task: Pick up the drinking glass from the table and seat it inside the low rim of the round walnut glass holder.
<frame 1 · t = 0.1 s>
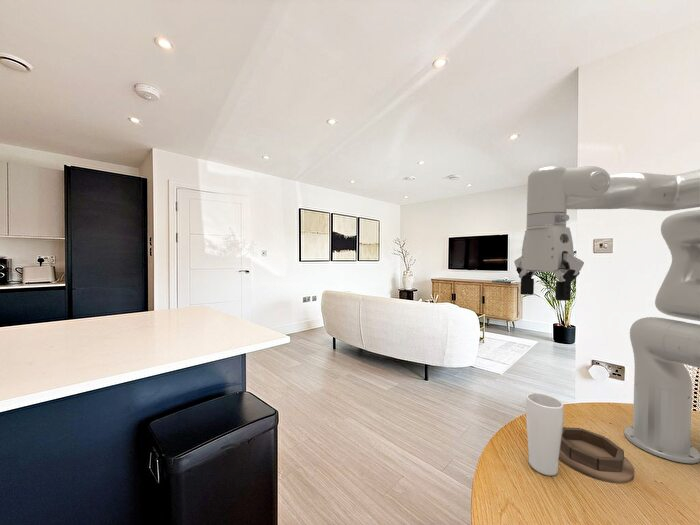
hand: (543, 297, 65), 37 cm above the table, tool pointing down, fingers open, 9 cm apart
glass holder: (588, 457, 65), on the table
drinking glass: (542, 468, 61), on the table
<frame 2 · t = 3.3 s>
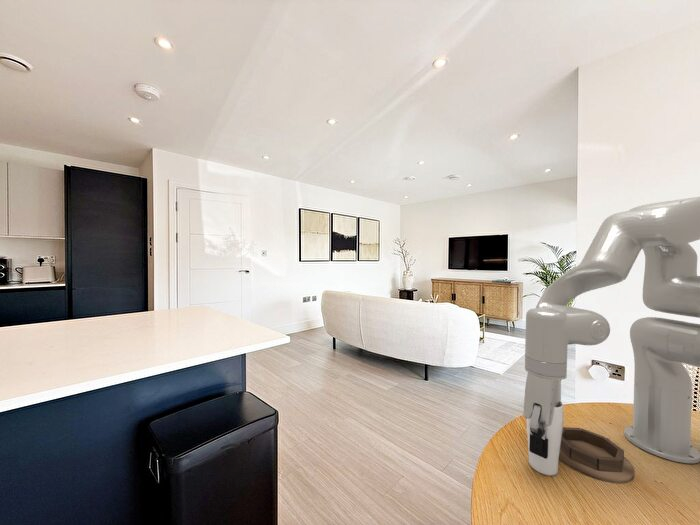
hand: (543, 446, 61), 5 cm above the table, tool pointing down, fingers closed on drinking glass, 6 cm apart
drinking glass: (542, 468, 61), on the table, touching gripper
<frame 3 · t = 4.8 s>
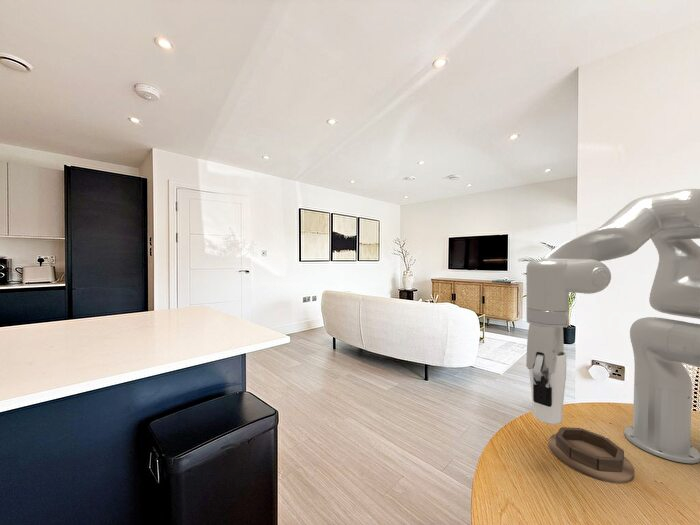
hand: (547, 397, 61), 15 cm above the table, tool pointing down, fingers closed on drinking glass, 6 cm apart
drinking glass: (547, 419, 62), point 11 cm above the table, touching gripper
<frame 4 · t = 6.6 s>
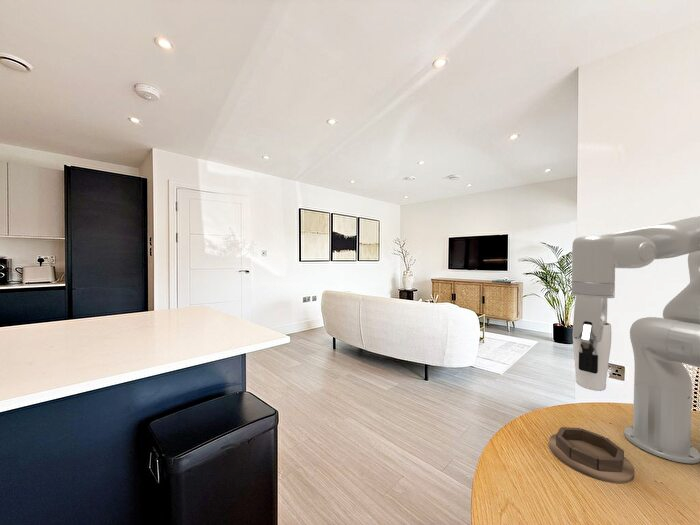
hand: (590, 366, 65), 21 cm above the table, tool pointing down, fingers closed on drinking glass, 6 cm apart
drinking glass: (590, 387, 65), point 16 cm above the table, touching gripper
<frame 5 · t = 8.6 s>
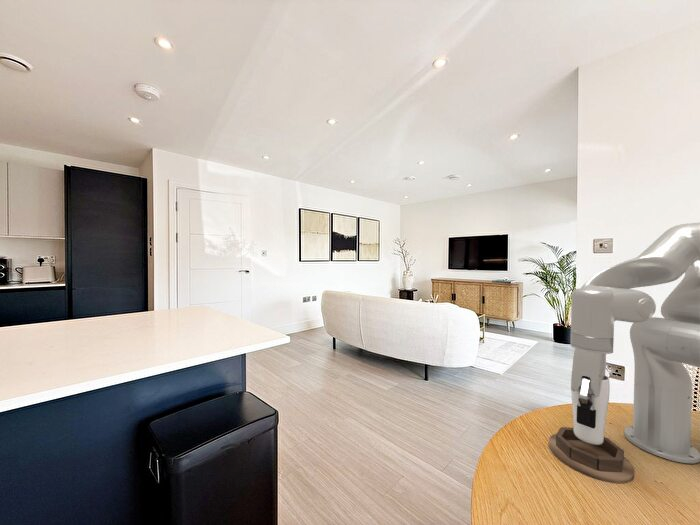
hand: (588, 418, 65), 9 cm above the table, tool pointing down, fingers closed on drinking glass, 6 cm apart
drinking glass: (588, 439, 65), point 4 cm above the table, touching gripper
when the fingers open (7 cm above the table, at t = 10.0 s): drinking glass drops 1 cm, resting on glass holder.
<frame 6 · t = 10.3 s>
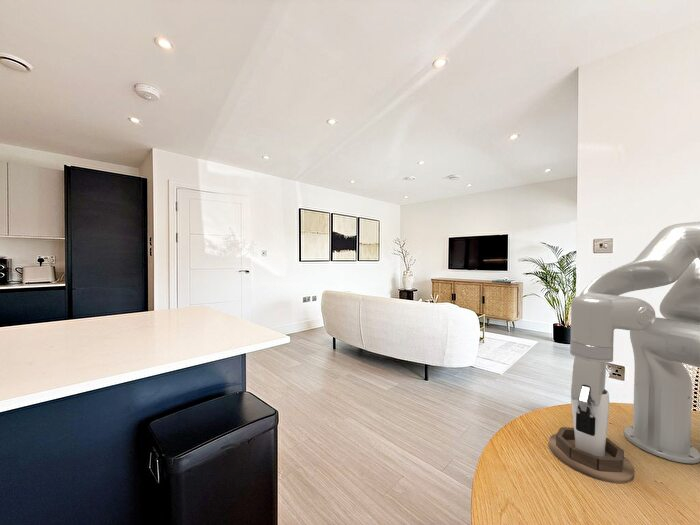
hand: (589, 424, 65), 8 cm above the table, tool pointing down, fingers open, 9 cm apart
drinking glass: (589, 453, 65), point 1 cm above the table, touching glass holder
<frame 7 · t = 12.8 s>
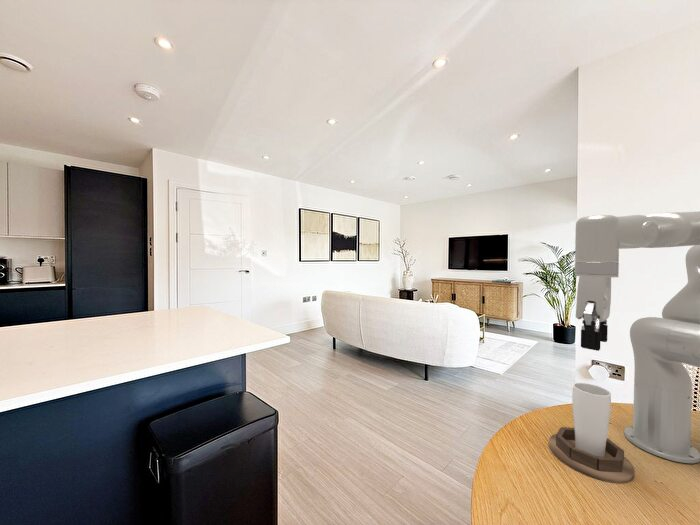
hand: (594, 344, 64), 26 cm above the table, tool pointing down, fingers open, 9 cm apart
nothing on the table moved.
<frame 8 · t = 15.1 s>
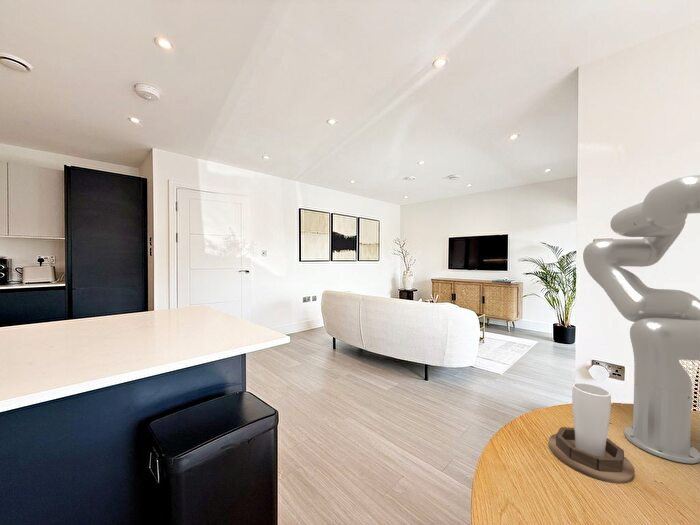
nothing on the table moved.
at the end: drinking glass 0.3 cm off-centre on the glass holder, point 0.8 cm above the glass holder's base; drinking glass tilted 0°; the gripper is holding nothing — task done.
